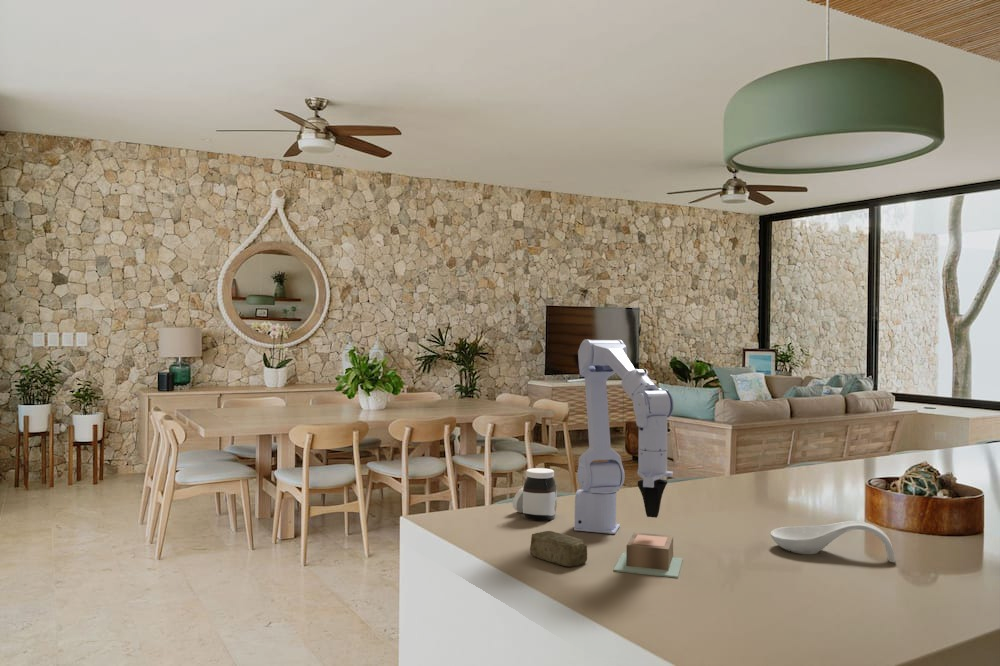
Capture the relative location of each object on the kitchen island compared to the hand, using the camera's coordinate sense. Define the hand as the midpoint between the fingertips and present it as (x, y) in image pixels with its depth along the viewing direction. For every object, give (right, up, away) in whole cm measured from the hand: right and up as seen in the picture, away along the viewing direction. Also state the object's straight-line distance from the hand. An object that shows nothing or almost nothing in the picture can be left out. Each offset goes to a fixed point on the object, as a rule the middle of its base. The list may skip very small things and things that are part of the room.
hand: (652, 516), depth 150 cm
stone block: (-19, -9, -2) cm, 21 cm away
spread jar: (-22, -9, +35) cm, 42 cm away
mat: (-2, -8, -5) cm, 10 cm away
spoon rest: (+38, -9, +5) cm, 40 cm away
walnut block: (+1, -6, +2) cm, 6 cm away
